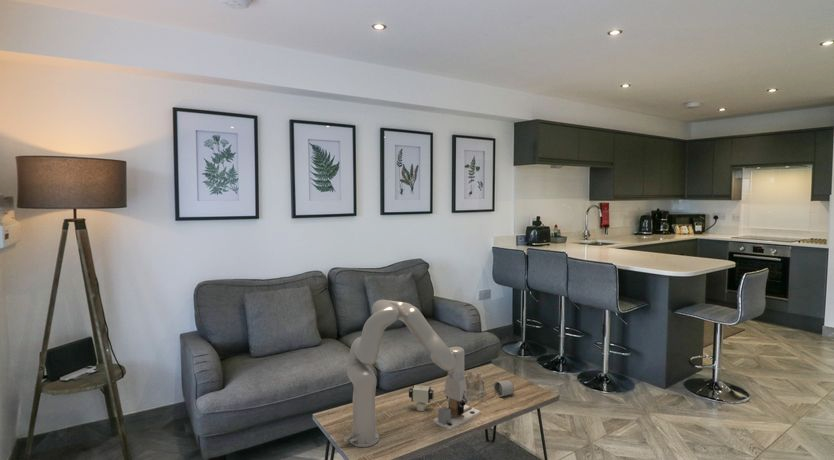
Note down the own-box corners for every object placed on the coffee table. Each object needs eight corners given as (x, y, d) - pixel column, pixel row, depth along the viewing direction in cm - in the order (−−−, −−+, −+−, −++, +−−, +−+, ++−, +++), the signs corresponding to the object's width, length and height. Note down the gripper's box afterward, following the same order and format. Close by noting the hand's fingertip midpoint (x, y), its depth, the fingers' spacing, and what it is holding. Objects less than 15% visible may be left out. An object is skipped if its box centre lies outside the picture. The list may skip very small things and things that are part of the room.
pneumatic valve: (432, 412, 218) (432, 388, 217) (408, 410, 221) (408, 386, 220) (434, 407, 224) (434, 383, 223) (411, 405, 226) (411, 381, 225)
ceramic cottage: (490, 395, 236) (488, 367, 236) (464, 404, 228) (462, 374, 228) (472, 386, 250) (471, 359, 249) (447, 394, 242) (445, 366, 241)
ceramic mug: (515, 396, 236) (515, 381, 236) (502, 399, 232) (502, 384, 232) (502, 388, 246) (502, 374, 245) (489, 391, 242) (489, 377, 241)
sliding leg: (460, 419, 207) (460, 402, 207) (449, 414, 212) (449, 397, 211) (467, 415, 211) (467, 399, 210) (456, 410, 215) (456, 394, 215)
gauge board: (449, 430, 202) (449, 414, 201) (433, 422, 209) (433, 406, 209) (480, 413, 217) (480, 399, 217) (464, 406, 224) (464, 392, 224)
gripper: (437, 371, 214) (437, 408, 216) (465, 381, 202) (464, 421, 203) (448, 366, 220) (447, 403, 221) (475, 377, 207) (475, 415, 209)
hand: (456, 411), depth 212 cm, fingers open, 5 cm apart
